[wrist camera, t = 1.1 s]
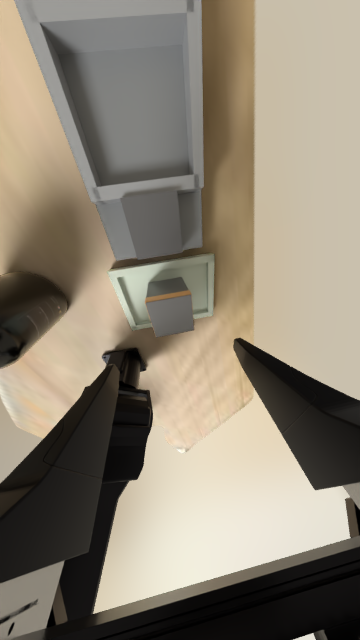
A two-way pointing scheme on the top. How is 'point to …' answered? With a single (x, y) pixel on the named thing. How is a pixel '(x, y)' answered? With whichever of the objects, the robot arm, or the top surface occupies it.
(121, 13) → the grey storage bin
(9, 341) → the supplement bottle
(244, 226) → the top surface
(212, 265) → the tray
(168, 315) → the plug
